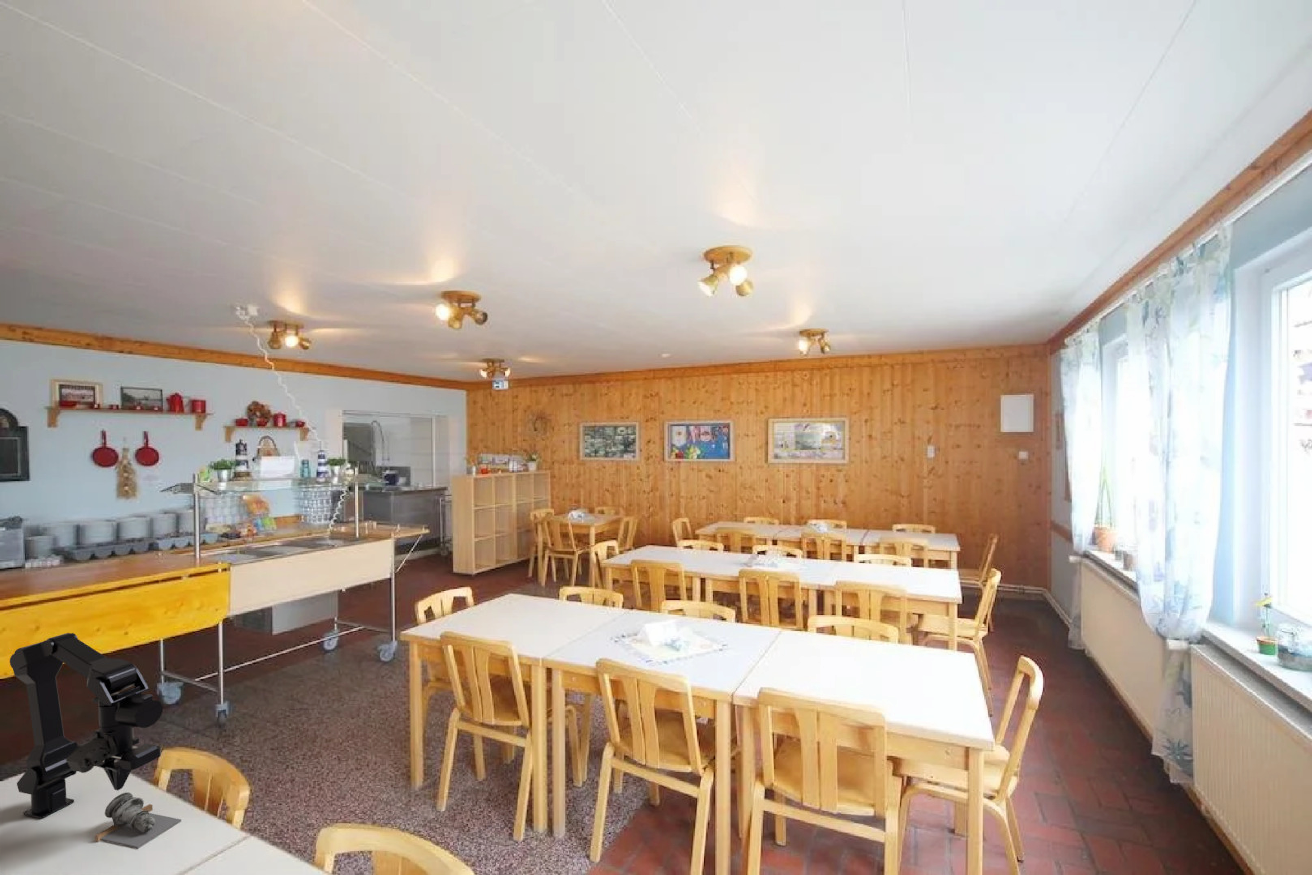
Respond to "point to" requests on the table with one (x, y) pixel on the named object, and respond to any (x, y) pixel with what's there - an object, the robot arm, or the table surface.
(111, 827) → the kerb
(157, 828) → the mat
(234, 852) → the table surface
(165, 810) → the table surface
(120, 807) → the stone baluster finial
